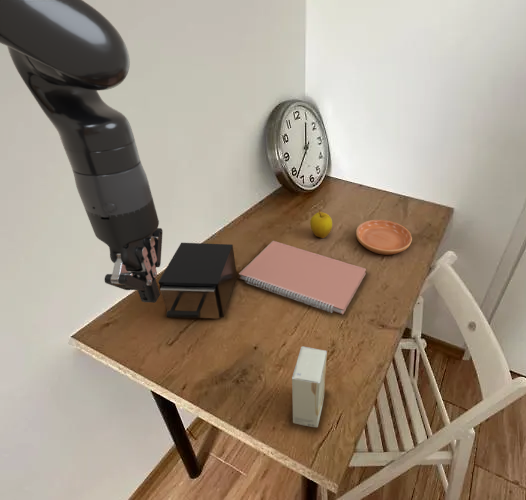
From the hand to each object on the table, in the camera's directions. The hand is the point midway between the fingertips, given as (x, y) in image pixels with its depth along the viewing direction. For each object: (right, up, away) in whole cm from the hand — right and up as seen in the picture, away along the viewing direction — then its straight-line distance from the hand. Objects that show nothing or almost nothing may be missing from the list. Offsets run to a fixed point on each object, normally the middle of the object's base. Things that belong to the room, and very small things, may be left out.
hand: (151, 299), depth 54 cm
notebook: (+20, 0, +34) cm, 39 cm away
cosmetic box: (+24, -20, +6) cm, 32 cm away
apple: (+24, +12, +49) cm, 56 cm away
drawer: (-2, -4, +23) cm, 24 cm away
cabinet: (-2, -3, +27) cm, 27 cm away
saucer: (+42, +10, +49) cm, 65 cm away
